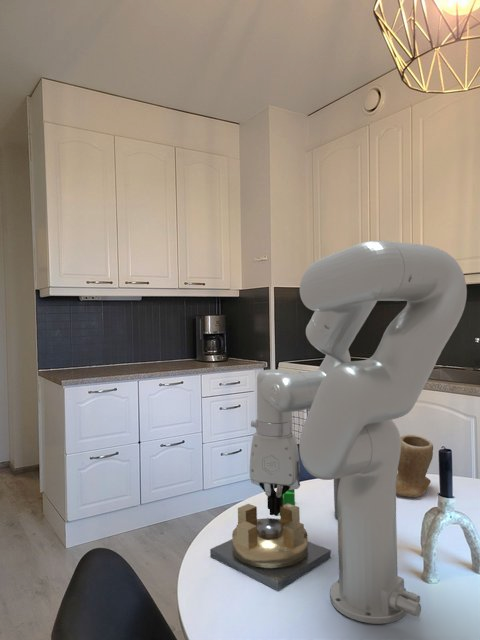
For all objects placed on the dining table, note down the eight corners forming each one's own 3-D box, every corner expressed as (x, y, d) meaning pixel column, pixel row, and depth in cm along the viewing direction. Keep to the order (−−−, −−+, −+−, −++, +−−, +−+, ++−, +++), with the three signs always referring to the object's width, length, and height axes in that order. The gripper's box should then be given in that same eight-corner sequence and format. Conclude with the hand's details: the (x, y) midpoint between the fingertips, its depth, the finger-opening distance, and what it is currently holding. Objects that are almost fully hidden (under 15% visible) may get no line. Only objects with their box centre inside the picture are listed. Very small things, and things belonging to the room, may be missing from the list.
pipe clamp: (295, 517, 115) (294, 498, 115) (279, 516, 115) (279, 497, 115) (294, 499, 126) (294, 482, 126) (280, 499, 126) (280, 482, 126)
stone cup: (428, 504, 120) (426, 445, 121) (381, 495, 127) (380, 439, 127) (441, 486, 133) (440, 432, 133) (398, 479, 140) (397, 428, 140)
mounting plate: (330, 557, 94) (330, 549, 94) (278, 591, 83) (277, 581, 83) (264, 530, 107) (263, 523, 107) (210, 556, 96) (210, 548, 96)
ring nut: (323, 548, 95) (322, 514, 95) (272, 577, 84) (271, 538, 84) (268, 526, 106) (267, 495, 106) (217, 549, 95) (216, 515, 95)
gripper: (235, 429, 101) (236, 515, 101) (305, 435, 95) (305, 526, 96) (248, 421, 108) (248, 501, 108) (313, 426, 102) (313, 511, 103)
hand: (275, 512), depth 102 cm, fingers closed
